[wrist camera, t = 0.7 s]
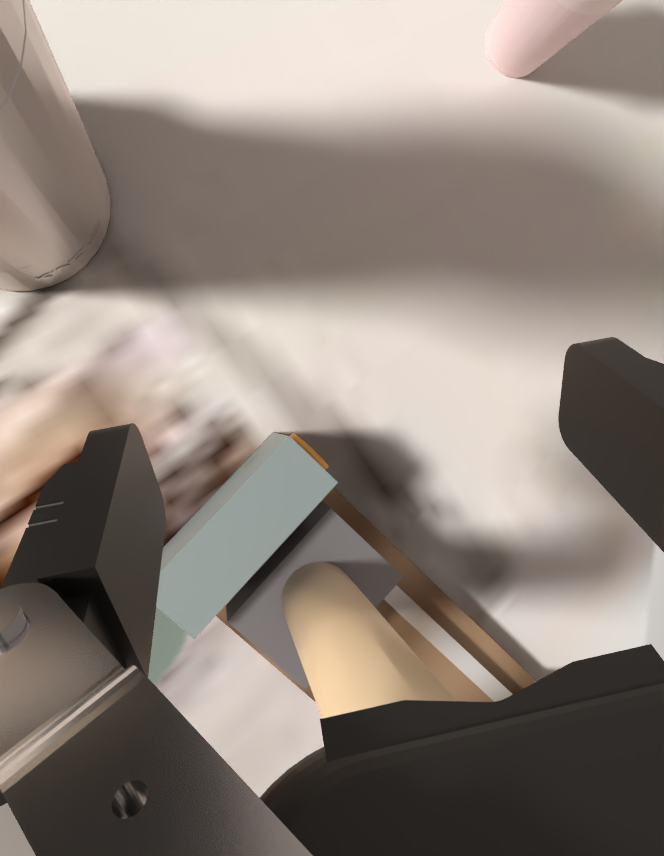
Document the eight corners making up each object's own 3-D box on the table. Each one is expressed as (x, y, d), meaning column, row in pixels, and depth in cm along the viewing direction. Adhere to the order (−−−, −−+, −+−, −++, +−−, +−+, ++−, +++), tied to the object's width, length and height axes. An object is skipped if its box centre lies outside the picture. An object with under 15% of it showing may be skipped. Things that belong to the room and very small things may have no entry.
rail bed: (156, 554, 31) (151, 566, 29) (272, 432, 32) (277, 433, 30) (459, 818, 35) (478, 848, 32) (554, 700, 36) (579, 720, 34)
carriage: (225, 605, 29) (242, 828, 13) (321, 501, 30) (444, 593, 14) (297, 667, 30) (394, 949, 14) (388, 564, 31) (576, 719, 15)
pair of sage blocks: (156, 554, 31) (140, 593, 24) (277, 427, 32) (295, 429, 25) (459, 818, 35) (520, 916, 28) (558, 695, 36) (640, 760, 29)
